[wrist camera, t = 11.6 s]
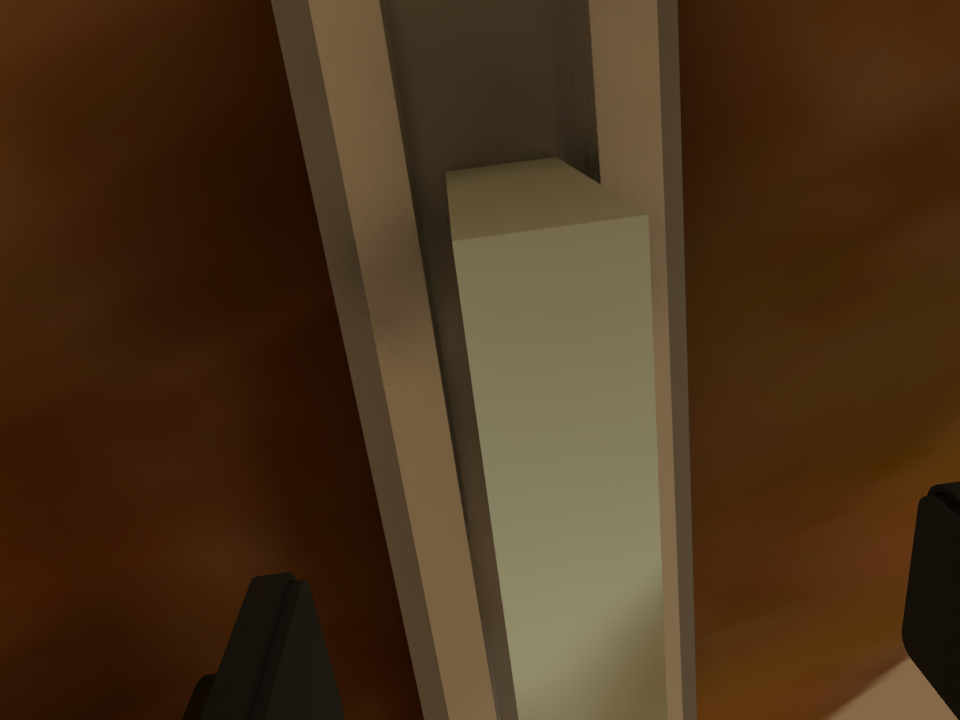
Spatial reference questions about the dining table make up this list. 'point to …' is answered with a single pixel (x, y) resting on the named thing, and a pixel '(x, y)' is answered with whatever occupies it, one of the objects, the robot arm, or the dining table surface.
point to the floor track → (433, 280)
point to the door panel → (566, 432)
